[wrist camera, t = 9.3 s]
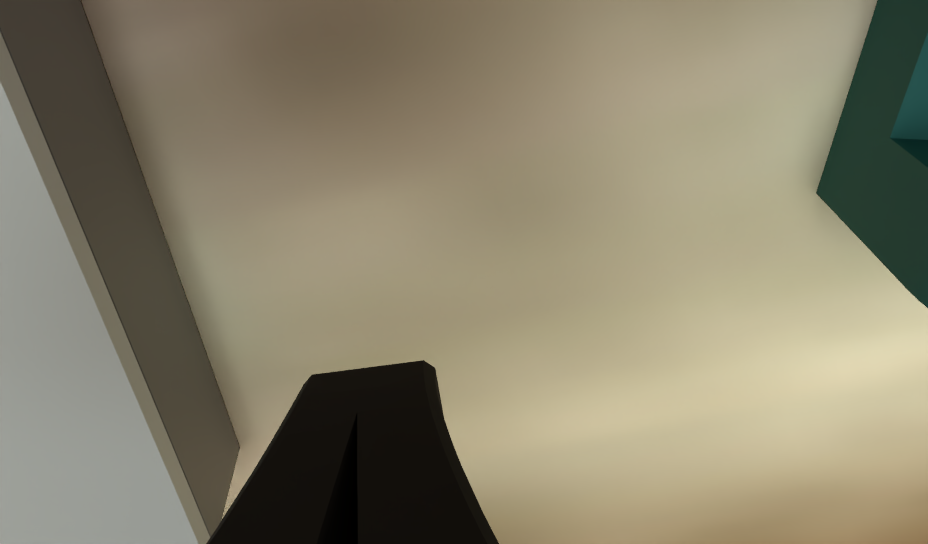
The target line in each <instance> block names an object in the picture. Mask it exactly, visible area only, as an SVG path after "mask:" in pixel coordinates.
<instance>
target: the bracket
mask: <svg viewBox="0 0 928 544" xmlns="http://www.w3.org/2000/svg"><path fill="white" fill-rule="evenodd" d="M816 193H817V194H818V195H819V196H820V198H821V199H822V200H823V201H824V202H825V203H826V204H827V205H828V206H829V207H830V208H831V209H832V210H833V211H834V212H835V213H836V214H837V216H838V217H839V218H840V219H841V220H842V221H843V222H844V223H845V224H846V225H847V226H848V227H849V228H850V229H851V230H852V231H853V232H854V234H855V235H856V236H857V237H858V238H859V239H860V240H861V241H862V242H863V243H864V244H865V245H866V246H867V247H868V248H869V249H870V250H871V251H872V253H873V254H874V255H875V256H876V257H877V258H878V259H879V260H880V261H881V262H882V263H883V264H884V265H885V266H886V267H887V268H888V269H889V271H890V272H891V273H892V274H893V275H894V276H895V277H896V278H897V279H898V280H899V281H900V282H901V283H902V284H903V285H904V286H905V287H906V289H907V290H908V291H909V292H910V293H912V294H913V295H914V296H915V297H916V298H917V299H918V300H919V301H920V302H921V303H922V304H924V305H925V306H926V307H927V308H928V0H878V1H877V4H876V7H875V11H874V14H873V17H872V20H871V23H870V26H869V29H868V33H867V36H866V39H865V42H864V45H863V48H862V51H861V54H860V58H859V61H858V64H857V67H856V70H855V73H854V76H853V79H852V83H851V86H850V89H849V92H848V95H847V98H846V101H845V105H844V108H843V111H842V114H841V117H840V120H839V123H838V126H837V130H836V133H835V136H834V139H833V142H832V145H831V148H830V152H829V155H828V158H827V161H826V164H825V167H824V170H823V173H822V177H821V180H820V183H819V186H818V189H817V192H816Z"/></svg>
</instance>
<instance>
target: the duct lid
mask: <svg viewBox="0 0 928 544" xmlns="http://www.w3.org/2000/svg"><path fill="white" fill-rule="evenodd" d="M209 539H210V536H209V534H208V531H207V529H206V526H205V524H204V521H203V519H202V517H201V514H200V512H199V509H198V507H197V505H196V502H195V500H194V497H193V495H192V493H191V490H190V488H189V485H188V483H187V481H186V478H185V476H184V473H183V471H182V468H181V466H180V464H179V461H178V459H177V456H176V454H175V452H174V449H173V447H172V444H171V442H170V440H169V437H168V435H167V432H166V430H165V428H164V425H163V423H162V420H161V418H160V415H159V413H158V411H157V408H156V406H155V403H154V401H153V399H152V396H151V394H150V391H149V389H148V387H147V384H146V382H145V379H144V377H143V375H142V372H141V370H140V367H139V365H138V362H137V360H136V358H135V355H134V353H133V350H132V348H131V346H130V343H129V341H128V338H127V336H126V334H125V331H124V329H123V326H122V324H121V321H120V319H119V317H118V314H117V312H116V309H115V307H114V305H113V302H112V300H111V297H110V295H109V293H108V290H107V288H106V285H105V283H104V281H103V278H102V276H101V273H100V271H99V268H98V266H97V264H96V261H95V259H94V256H93V254H92V252H91V249H90V247H89V244H88V242H87V240H86V237H85V235H84V232H83V230H82V228H81V225H80V223H79V220H78V218H77V215H76V213H75V211H74V208H73V206H72V203H71V201H70V199H69V196H68V194H67V191H66V189H65V187H64V184H63V182H62V179H61V177H60V175H59V172H58V170H57V167H56V165H55V162H54V160H53V158H52V155H51V153H50V150H49V148H48V146H47V143H46V141H45V138H44V136H43V134H42V131H41V129H40V126H39V124H38V122H37V119H36V117H35V114H34V112H33V109H32V107H31V105H30V102H29V100H28V97H27V95H26V93H25V90H24V88H23V85H22V83H21V81H20V78H19V76H18V73H17V71H16V69H15V66H14V64H13V61H12V59H11V56H10V54H9V52H8V49H7V47H6V44H5V42H4V40H3V37H2V35H1V32H0V544H206V543H207V542H208V540H209Z"/></svg>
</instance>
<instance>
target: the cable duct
mask: <svg viewBox="0 0 928 544" xmlns="http://www.w3.org/2000/svg"><path fill="white" fill-rule="evenodd" d="M0 32H1V35H2V37H3V40H4V42H5V44H6V47H7V49H8V52H9V54H10V56H11V59H12V61H13V64H14V66H15V69H16V71H17V73H18V76H19V78H20V81H21V83H22V85H23V88H24V90H25V93H26V95H27V97H28V100H29V102H30V105H31V107H32V109H33V112H34V114H35V117H36V119H37V122H38V124H39V126H40V129H41V131H42V134H43V136H44V138H45V141H46V143H47V146H48V148H49V150H50V153H51V155H52V158H53V160H54V162H55V165H56V167H57V170H58V172H59V175H60V177H61V179H62V182H63V184H64V187H65V189H66V191H67V194H68V196H69V199H70V201H71V203H72V206H73V208H74V211H75V213H76V215H77V218H78V220H79V223H80V225H81V228H82V230H83V232H84V235H85V237H86V240H87V242H88V244H89V247H90V249H91V252H92V254H93V256H94V259H95V261H96V264H97V266H98V268H99V271H100V273H101V276H102V278H103V281H104V283H105V285H106V288H107V290H108V293H109V295H110V297H111V300H112V302H113V305H114V307H115V309H116V312H117V314H118V317H119V319H120V321H121V324H122V326H123V329H124V331H125V334H126V336H127V338H128V341H129V343H130V346H131V348H132V350H133V353H134V355H135V358H136V360H137V362H138V365H139V367H140V370H141V372H142V375H143V377H144V379H145V382H146V384H147V387H148V389H149V391H150V394H151V396H152V399H153V401H154V403H155V406H156V408H157V411H158V413H159V415H160V418H161V420H162V423H163V425H164V428H165V430H166V432H167V435H168V437H169V440H170V442H171V444H172V447H173V449H174V452H175V454H176V456H177V459H178V461H179V464H180V466H181V468H182V471H183V473H184V476H185V478H186V481H187V483H188V485H189V488H190V490H191V493H192V495H193V497H194V500H195V502H196V505H197V507H198V509H199V512H200V514H201V517H202V519H203V521H204V524H205V526H206V529H207V531H208V534H209V536H210V537H211V536H212V534H213V533H214V531H215V530H216V528H217V527H218V525H219V524H220V522H221V520H222V516H223V512H224V508H225V504H226V500H227V496H228V492H229V488H230V484H231V480H232V476H233V472H234V468H235V464H236V460H237V456H238V452H239V448H240V447H239V444H238V441H237V438H236V436H235V433H234V430H233V427H232V424H231V422H230V419H229V416H228V413H227V410H226V408H225V405H224V402H223V399H222V396H221V394H220V391H219V388H218V385H217V382H216V380H215V377H214V374H213V371H212V368H211V366H210V363H209V360H208V357H207V354H206V352H205V349H204V346H203V343H202V340H201V337H200V335H199V332H198V329H197V326H196V323H195V321H194V318H193V315H192V312H191V309H190V307H189V304H188V301H187V298H186V295H185V293H184V290H183V287H182V284H181V281H180V279H179V276H178V273H177V270H176V267H175V265H174V262H173V259H172V256H171V253H170V251H169V248H168V245H167V242H166V239H165V237H164V234H163V231H162V228H161V225H160V223H159V220H158V217H157V214H156V211H155V209H154V206H153V203H152V200H151V197H150V194H149V192H148V189H147V186H146V183H145V180H144V178H143V175H142V172H141V169H140V166H139V164H138V161H137V158H136V155H135V152H134V150H133V147H132V144H131V141H130V138H129V136H128V133H127V130H126V127H125V124H124V122H123V119H122V116H121V113H120V110H119V108H118V105H117V102H116V99H115V96H114V94H113V91H112V88H111V85H110V82H109V80H108V77H107V74H106V71H105V68H104V66H103V63H102V60H101V57H100V54H99V51H98V49H97V46H96V43H95V40H94V37H93V35H92V32H91V29H90V26H89V23H88V21H87V18H86V15H85V12H84V9H83V7H82V4H81V1H80V0H0Z"/></svg>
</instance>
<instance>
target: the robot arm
mask: <svg viewBox="0 0 928 544" xmlns="http://www.w3.org/2000/svg"><path fill="white" fill-rule="evenodd" d="M206 544H499V543H498V541H497V539H496V537H495V535H494V533H493V531H492V529H491V528H490V526H489V524H488V522H487V520H486V518H485V516H484V514H483V512H482V510H481V507H480V505H479V503H478V501H477V499H476V496H475V494H474V492H473V490H472V488H471V486H470V483H469V481H468V479H467V477H466V475H465V472H464V470H463V468H462V466H461V463H460V461H459V459H458V456H457V454H456V451H455V449H454V446H453V443H452V440H451V438H450V435H449V432H448V429H447V426H446V423H445V420H444V416H443V410H442V404H441V399H440V393H439V387H438V381H437V376H436V370H435V368H434V367H433V366H431V365H430V364H428V363H427V362H425V361H424V360H423V361H416V362H408V363H400V364H392V365H384V366H377V367H369V368H361V369H353V370H345V371H338V372H330V373H322V374H314V375H311V377H310V378H309V379H308V380H307V381H306V382H305V384H304V385H303V387H302V389H301V390H300V392H299V394H298V396H297V397H296V399H295V401H294V403H293V405H292V406H291V408H290V410H289V412H288V413H287V415H286V417H285V419H284V420H283V422H282V424H281V426H280V427H279V429H278V431H277V432H276V434H275V436H274V438H273V439H272V441H271V443H270V444H269V446H268V448H267V449H266V451H265V453H264V454H263V456H262V458H261V459H260V461H259V463H258V464H257V466H256V468H255V469H254V471H253V472H252V474H251V476H250V477H249V479H248V480H247V482H246V483H245V485H244V486H243V488H242V490H241V491H240V493H239V494H238V496H237V497H236V499H235V500H234V502H233V504H232V505H231V507H230V508H229V510H228V511H227V513H226V514H225V516H224V518H223V519H222V521H221V522H220V524H219V525H218V527H217V528H216V530H215V531H214V533H213V534H212V536H211V537H210V539H209V540H208V542H207V543H206Z"/></svg>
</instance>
